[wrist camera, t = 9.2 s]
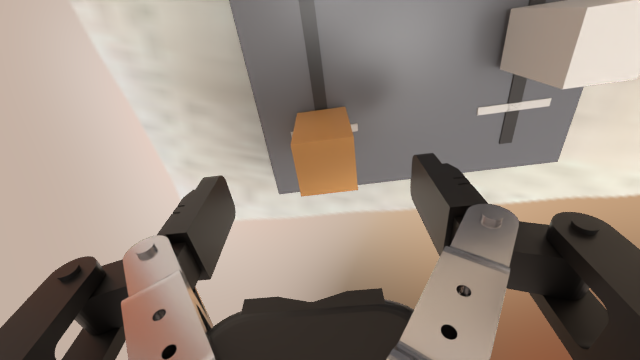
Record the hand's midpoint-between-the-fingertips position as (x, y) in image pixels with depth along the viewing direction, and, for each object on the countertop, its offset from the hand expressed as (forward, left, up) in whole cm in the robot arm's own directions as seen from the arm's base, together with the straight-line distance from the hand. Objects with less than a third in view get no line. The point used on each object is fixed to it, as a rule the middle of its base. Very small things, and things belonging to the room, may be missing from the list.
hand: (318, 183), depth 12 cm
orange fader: (0, 0, -7) cm, 7 cm away
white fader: (-4, +12, -7) cm, 15 cm away
